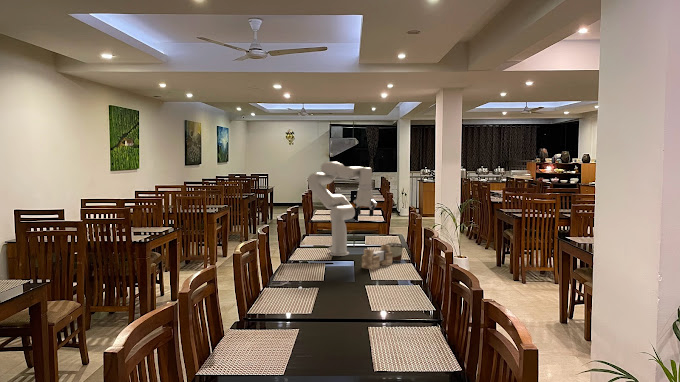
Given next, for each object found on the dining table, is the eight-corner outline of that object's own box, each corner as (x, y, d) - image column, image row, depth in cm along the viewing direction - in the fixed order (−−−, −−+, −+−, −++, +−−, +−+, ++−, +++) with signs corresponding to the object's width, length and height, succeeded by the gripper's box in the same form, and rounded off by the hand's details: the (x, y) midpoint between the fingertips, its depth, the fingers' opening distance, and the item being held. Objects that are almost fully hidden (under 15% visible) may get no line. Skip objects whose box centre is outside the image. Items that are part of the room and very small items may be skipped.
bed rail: (367, 262, 291) (367, 253, 290) (381, 258, 302) (381, 249, 301) (373, 263, 288) (373, 254, 288) (386, 258, 299) (386, 250, 299)
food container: (403, 258, 313) (403, 242, 312) (403, 261, 307) (403, 244, 306) (383, 258, 314) (383, 242, 313) (383, 260, 308) (383, 244, 307)
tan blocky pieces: (361, 267, 290) (361, 248, 289) (380, 261, 305) (380, 243, 304) (374, 269, 285) (373, 250, 284) (392, 263, 300) (392, 245, 299)
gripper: (350, 186, 311) (350, 214, 313) (373, 189, 300) (372, 217, 302) (357, 186, 317) (357, 213, 318) (380, 188, 306) (379, 216, 307)
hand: (364, 215), depth 310 cm, fingers open, 9 cm apart
